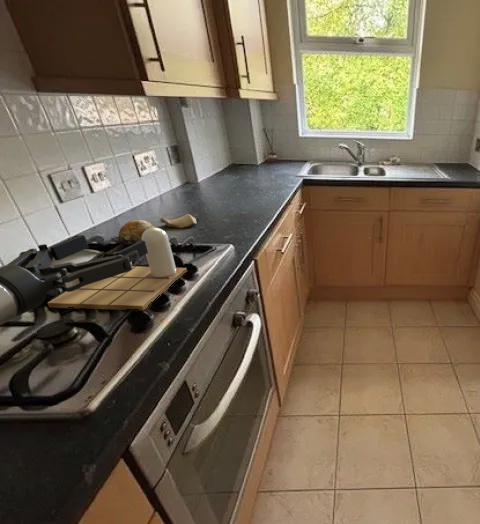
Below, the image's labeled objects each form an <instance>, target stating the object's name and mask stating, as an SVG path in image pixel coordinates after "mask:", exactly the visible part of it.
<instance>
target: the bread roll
mask: <svg viewBox="0 0 480 524" xmlns="http://www.w3.org/2000/svg"><path fill="white" fill-rule="evenodd" d="M149 228H156V226H153V224H152V223H150V222H149V221H146V220H142V219H134V220H133V219H132V220H129V221H127V222H126V223H125V224H124V225H122V226H121V227H120V230H119V231H118V235H117V236H118V240H119V241H120V242H121V243H123V244H125V245H129V244H131V245H133V244H135V243H137V242H139V241H142V234H143V233H144V232H145V231H146V230H147V229H149Z"/></svg>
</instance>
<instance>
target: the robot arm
mask: <svg viewBox="0 0 480 524" xmlns="http://www.w3.org/2000/svg"><path fill="white" fill-rule="evenodd" d="M37 248H38V249H39V250H38V249H37ZM37 248H30V249H27V250H26V251H24V252H23V253H22V254H20V255H19V256H17V257H15V258H14V259H13V260H11V261H10V262H9V263H7V264H5V265H2V266H0V326H1V325H4V324H6V323H7V322H9V321H11V320H13V319H14V318H15V317H19V316H21V315H24V314H26V313H27V312H29V311H31V310H33V309H35V308H37V307H39V306H41V305H42V304H43V303H44V301H45V299H46V297H47V295H48V292H49V291H52V290H56V289H60V288H62V287H64V288H65V292H66V291H67V292H71V291H74V290H76V289H79V288H81V287H83V286H85V285H88V284H91V283H94V282H97V281H100V280H104V279H107V278H110V277H113V276H116V275H119V274H122V273H125V272H128V271H131V270H132V267H131V266H132V264H131V263H132V262H134V261H136V260H138V259H140V258H141V257H143V256H146V254H147V253H148V251H147V247H146V244H145V241H139V242H137V243H135V244H131V245H129V246H127V247H124V248H122V249H120V250H119V251H117V252H115V253H114V255H111V256H107V257H102V258H95V259H93V260H91V261H87V262H82V263H77V264H74V263H73V262H68V263H64V264H59V265H53V264H51V263H52V261H53V259H52V258H53V257H54V259H55V260H61V259H63V258H66V257H68V256H70V255H73V254H75V253H77V252H80V251H82V250H88V249H89V248H90V246H89V245H88V241H87V239H86V236H85V235H83V234H81V235H78V236H76V237H75V236H74V237H73V238H71V239H68V240H65V241H62V242H60V243H57V244H55V245H53V246H50V247H48V245H47V244H46V243H44V244H39V245H38V246H37ZM68 270H69V272H68Z"/></svg>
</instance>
